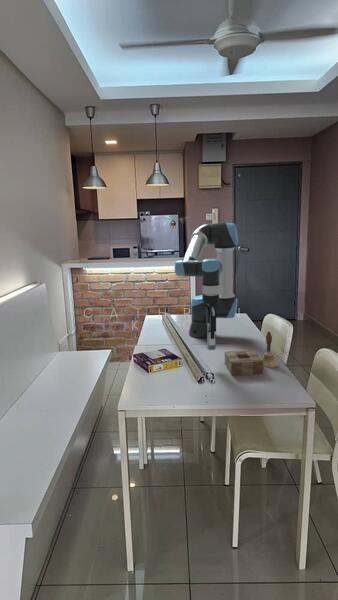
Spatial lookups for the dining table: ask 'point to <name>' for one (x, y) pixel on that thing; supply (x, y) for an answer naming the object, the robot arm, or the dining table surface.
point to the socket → (243, 362)
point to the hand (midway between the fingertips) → (211, 343)
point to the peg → (209, 347)
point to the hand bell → (269, 354)
